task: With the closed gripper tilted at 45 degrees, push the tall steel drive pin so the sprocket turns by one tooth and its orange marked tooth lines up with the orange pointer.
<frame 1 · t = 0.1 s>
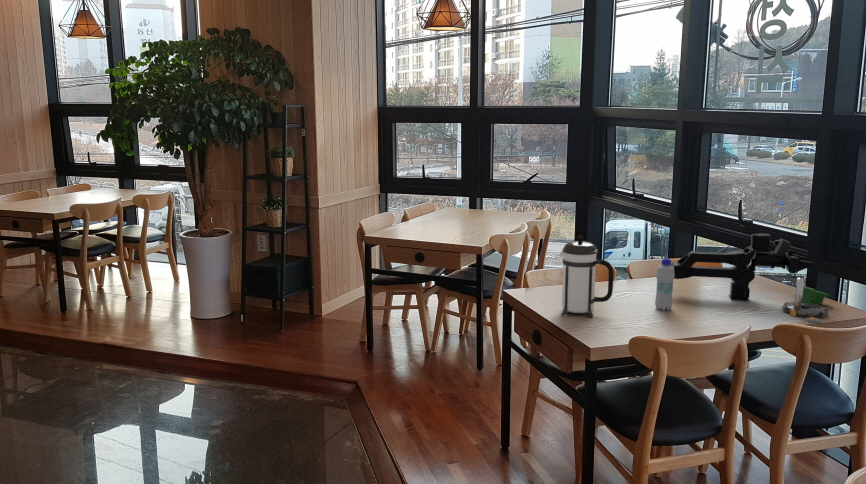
hand: (810, 261, 280), 17 cm above the table, tool horizontal, fingers open, 9 cm apart
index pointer: (812, 321, 259), on the table
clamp: (811, 303, 283), on the table
sprocket: (806, 294, 268), point 7 cm above the table, hinge at 0.0°
coffee press: (581, 313, 272), on the table
bottle: (663, 309, 276), on the table
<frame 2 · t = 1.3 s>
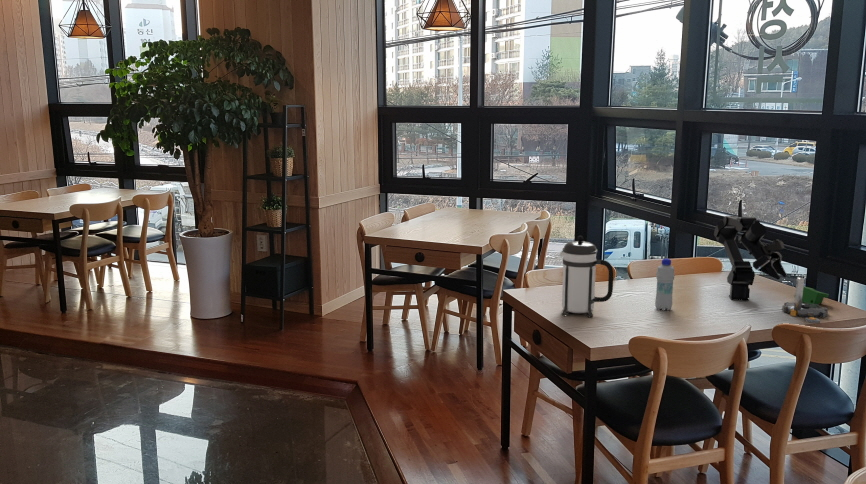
hand: (782, 277, 271), 13 cm above the table, tool tilted 45°, fingers open, 9 cm apart
nothing on the table moved.
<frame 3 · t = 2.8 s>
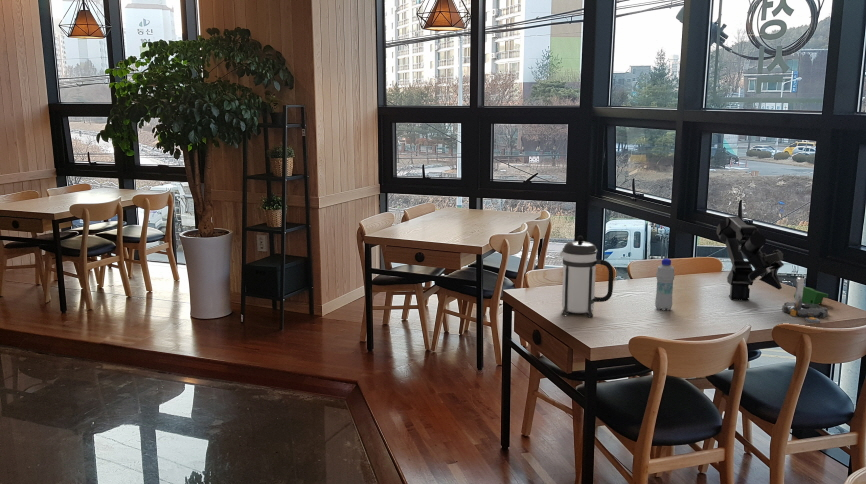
hand: (780, 288, 270), 9 cm above the table, tool tilted 45°, fingers closed
nothing on the table moved.
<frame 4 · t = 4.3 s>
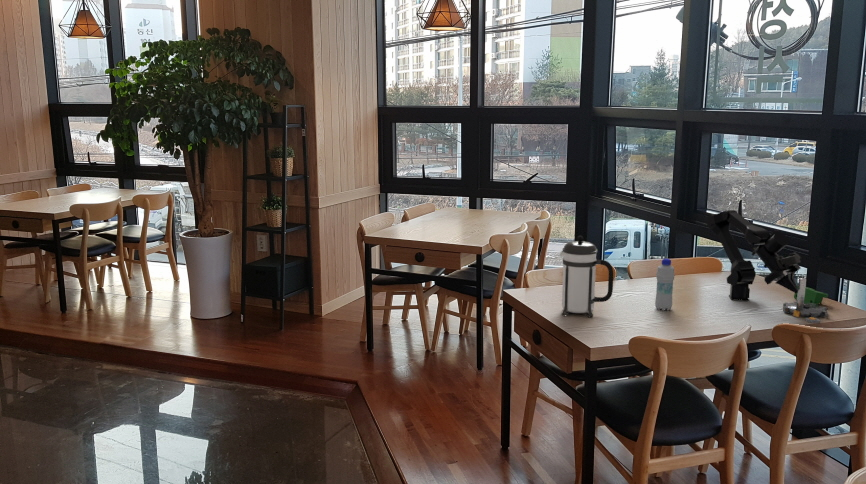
hand: (797, 292, 265), 9 cm above the table, tool tilted 45°, fingers closed, pressing on sprocket
sprocket: (806, 294, 268), point 7 cm above the table, hinge at 8.9°, touching gripper
everything else where it was.
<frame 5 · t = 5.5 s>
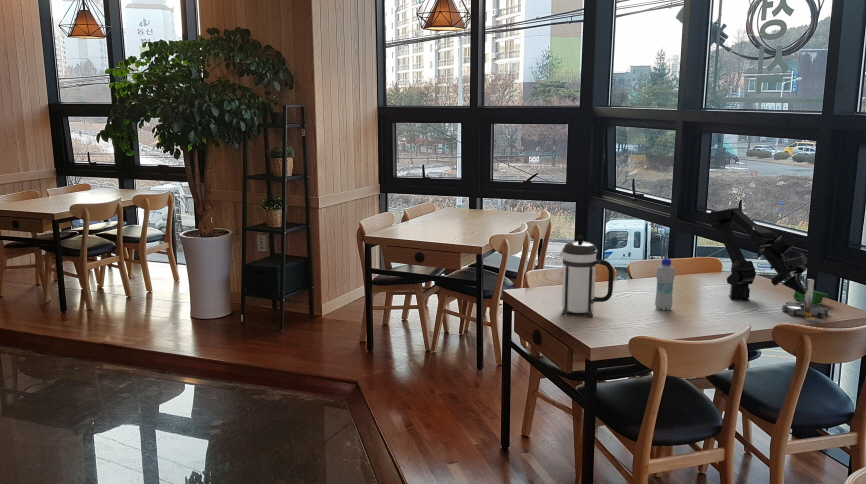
hand: (804, 293, 264), 9 cm above the table, tool tilted 45°, fingers closed
sprocket: (806, 294, 268), point 7 cm above the table, hinge at 38.7°, touching gripper
everything else where it was.
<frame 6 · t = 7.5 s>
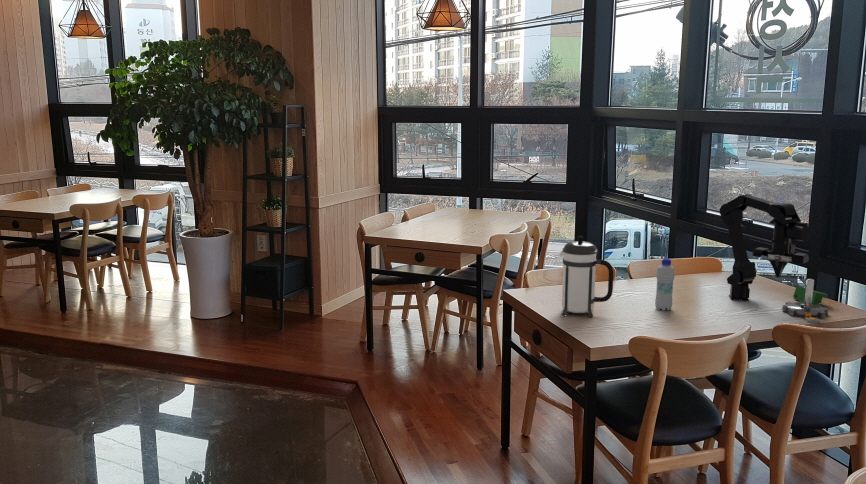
hand: (778, 277, 270), 13 cm above the table, tool pointing down, fingers closed
sprocket: (806, 294, 268), point 7 cm above the table, hinge at 38.7°
everything else where it was.
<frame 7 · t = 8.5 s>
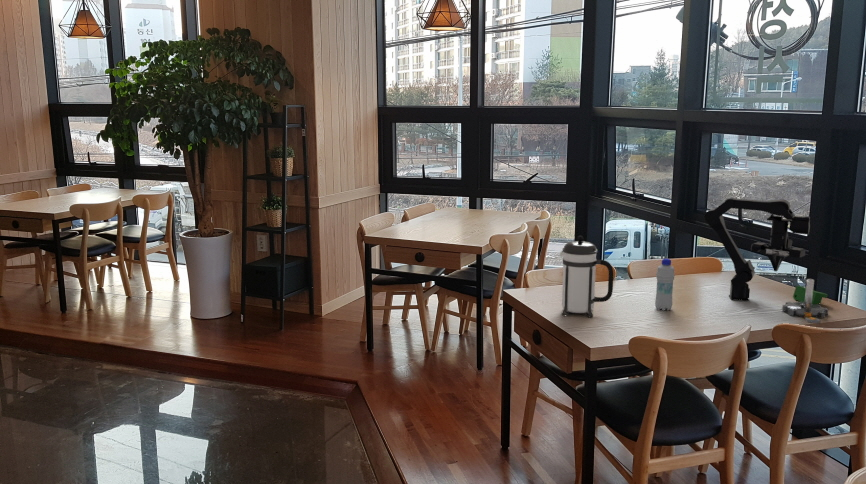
hand: (775, 271, 280), 13 cm above the table, tool pointing down, fingers closed
nothing on the table moved.
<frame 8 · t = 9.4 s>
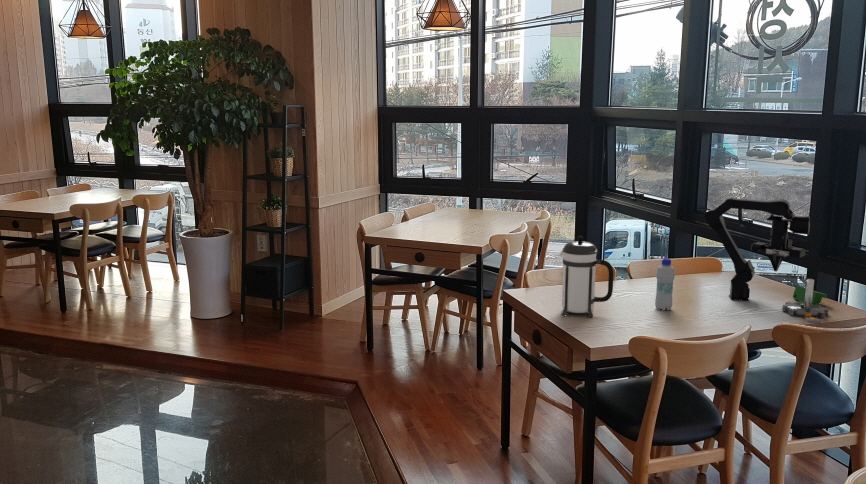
hand: (775, 271, 280), 13 cm above the table, tool pointing down, fingers closed
nothing on the table moved.
at the end: sprocket at +39° (first picture: +0°) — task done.
